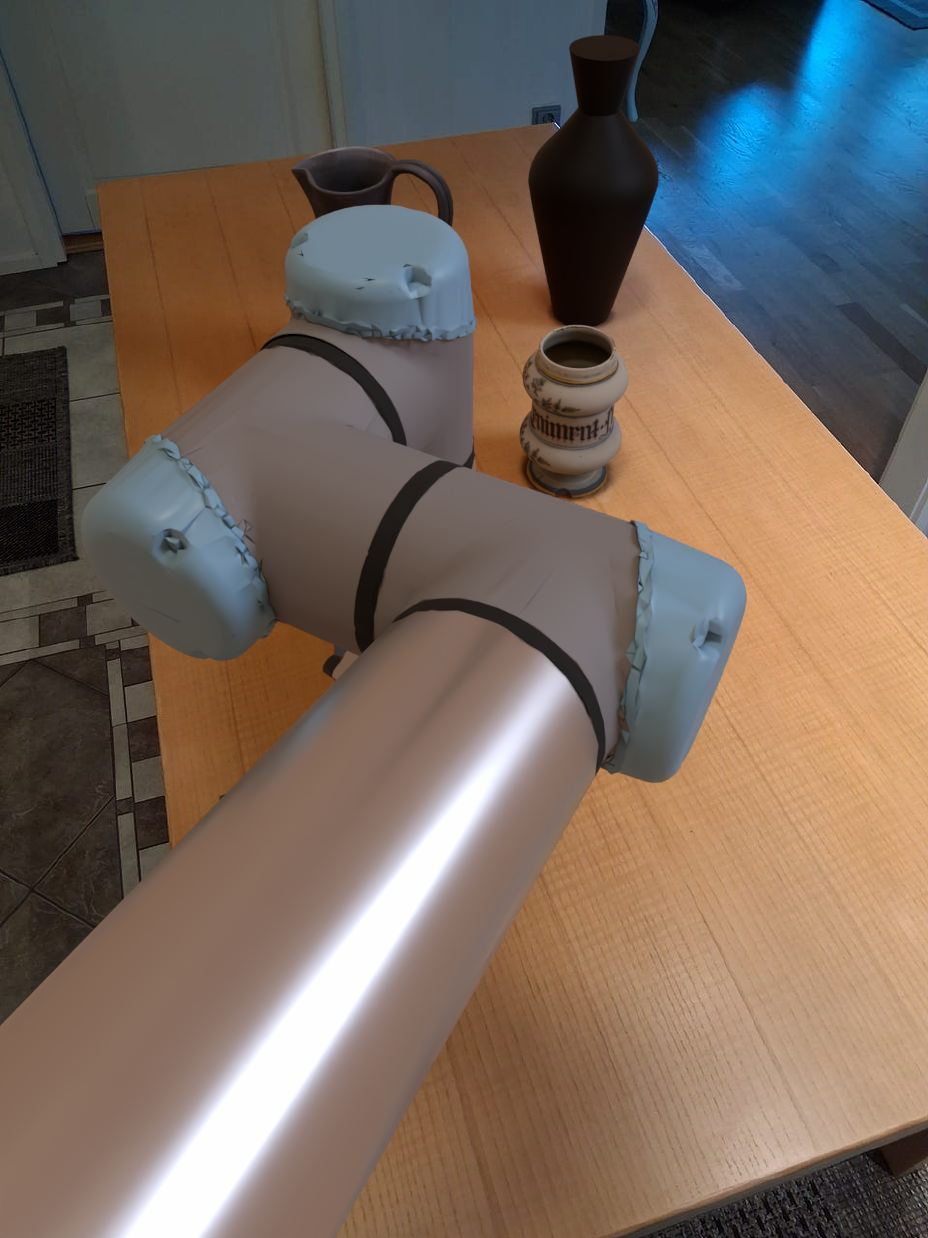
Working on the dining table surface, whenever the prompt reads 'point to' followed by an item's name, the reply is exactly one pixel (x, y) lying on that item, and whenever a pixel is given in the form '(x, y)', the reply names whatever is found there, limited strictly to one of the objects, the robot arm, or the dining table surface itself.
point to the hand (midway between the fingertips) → (427, 756)
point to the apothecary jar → (572, 410)
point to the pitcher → (363, 179)
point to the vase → (592, 186)
